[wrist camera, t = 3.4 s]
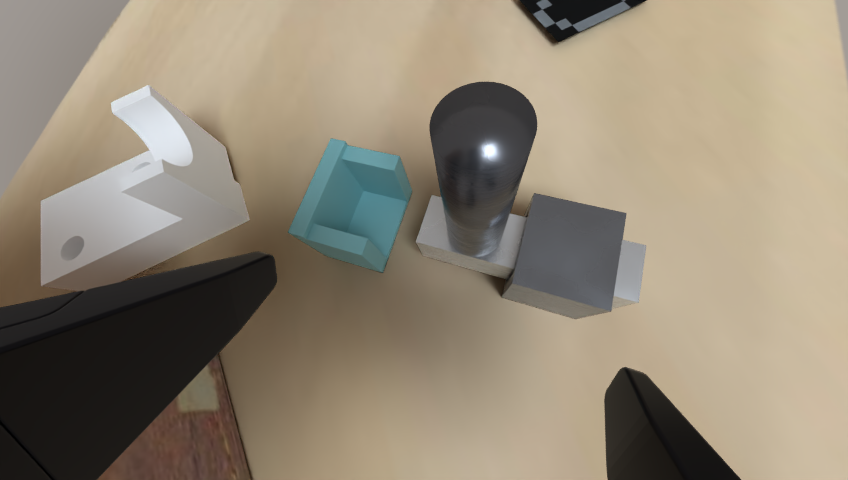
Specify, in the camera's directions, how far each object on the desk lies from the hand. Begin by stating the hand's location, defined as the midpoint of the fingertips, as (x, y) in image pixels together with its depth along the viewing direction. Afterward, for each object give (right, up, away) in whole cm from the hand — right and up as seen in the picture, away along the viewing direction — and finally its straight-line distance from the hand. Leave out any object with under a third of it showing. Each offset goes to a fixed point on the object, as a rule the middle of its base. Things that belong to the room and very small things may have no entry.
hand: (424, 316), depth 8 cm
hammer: (+6, +1, +12) cm, 13 cm away
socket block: (-4, +3, +15) cm, 16 cm away
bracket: (-21, +4, +18) cm, 28 cm away
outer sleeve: (+8, 0, +12) cm, 15 cm away
